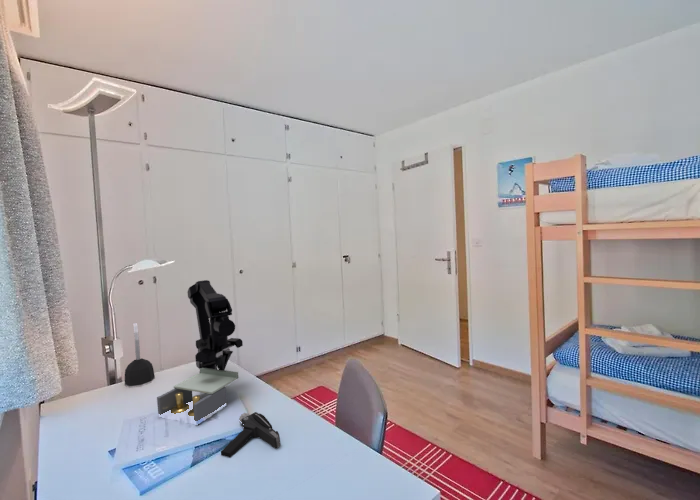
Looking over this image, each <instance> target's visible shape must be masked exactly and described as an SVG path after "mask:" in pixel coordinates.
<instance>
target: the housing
mask: <svg viewBox="0 0 700 500" xmlns="http://www.w3.org/2000/svg"><path fill="white" fill-rule="evenodd" d="M179 392H182V393H183V403H184V404H186V403H188V402H191V401H193V398H192V397H193V391H189V390H183V389H177V388H172V389H170V390H168V391H167V392H165V393H163V394H161V395H159V396H157V397H156V402H157V414H160V415H161V414H163V413H165V412H167V411H169V410H171V409H172V408H173V407H175V406H176V396H175V394H176V393H179ZM227 397H228V395H227V386H225V387H223V388H221V389H220V390H218V391H216V392H215V393H213V394H208V395H206V396H204V397H203V398H200V400H199V401H198V402H196V403H194V404H193V407H194V420H195V421H198V420H200V419H201V418H203V417H205V416H207V415H208V414H210V413H212V412H214V411H215V410H217V409H218V408H219V407H221V406H222V405H224V404H225V403H227V404H228V398H227Z"/></svg>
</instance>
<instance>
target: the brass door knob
mask: <svg viewBox="0 0 700 500" xmlns="http://www.w3.org/2000/svg"><path fill="white" fill-rule="evenodd" d="M175 396H176V406H175V407H173V408H172V409H171V413H174V414H176V413H181V412H184V411H186V410H187V409H189V405H188V404H184V403H183V393H182V392H179V393H176V394H175Z"/></svg>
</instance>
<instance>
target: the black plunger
mask: <svg viewBox="0 0 700 500" xmlns="http://www.w3.org/2000/svg"><path fill="white" fill-rule="evenodd" d="M132 324H133V325H132V326H133V336H134V337H133V338H134V348H135V349H134V350H135V359H134V360H132V361H131V362H130V363H129V364H128V365H127V366H126V368H125V370H124V387H126V388H129V389H130V388H135V387H143V386H144V385H148V384H150V383H152V382H153V381H154V380H155V379H156V377H155V371H154V366H153V363H152V362H151V361H150V360H148V359H145V358H141V352H140V351H141V350H140V349H141V348H140V336H139V326H138V323H137V322H135V323H134V322H133V323H132Z"/></svg>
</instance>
